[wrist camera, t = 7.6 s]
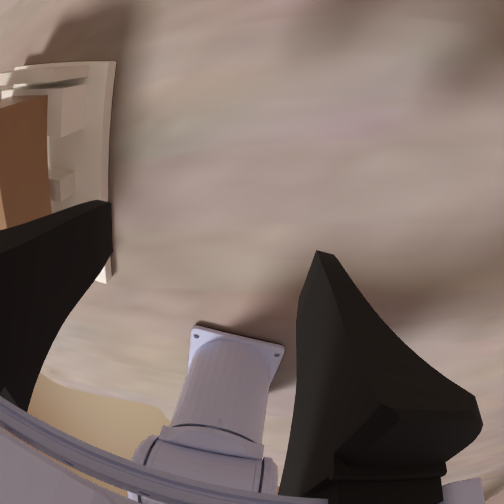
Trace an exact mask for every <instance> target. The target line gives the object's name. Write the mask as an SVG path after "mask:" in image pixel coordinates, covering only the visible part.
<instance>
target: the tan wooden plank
mask: <svg viewBox="0 0 504 504" xmlns="http://www.w3.org/2000/svg"><path fill="white" fill-rule="evenodd" d="M47 105H48V95H26V96H10V97H7V98H3V99H0V230H3V229H7V228H10V227H14V226H17V225H20V224H24V223H27V222H29V221H32V220H35V219H38V218H41V217H44V216H47V215H50V214H52V209H51V200H50V188H49V174H48V153H47Z"/></svg>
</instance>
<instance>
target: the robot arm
mask: <svg viewBox="0 0 504 504" xmlns="http://www.w3.org/2000/svg"><path fill="white" fill-rule="evenodd" d="M112 252H113V245H112V217H111V203H110V202H106V201H101V200H93V201H88V202H85V203H81V204H78V205H75V206H72V207H69V208H66V209H64V210H61V211H58V212H55V213H52V214H50V215H47V216H44V217H41V218H38V219H35V220H32V221H29V222H27V223H24V224H20V225H17V226H14V227H10V228H7V229H3V230H0V426H1V427H2V428H4V429H5V430H7V431H8V432H10V433H11V434H13V435H15V436H16V437H18V438H19V439H21V440H23V441H24V442H26V443H28V444H29V445H31V446H33V447H35V448H36V449H38V450H40V451H42V452H43V453H45V454H47V455H49V456H51V457H53V458H54V459H56V460H58V461H60V462H62V463H64V464H66V465H68V466H70V467H72V468H74V469H76V470H78V471H80V472H83V473H85V474H87V475H89V476H92V477H94V478H96V479H99V480H101V481H104V482H106V483H108V484H111V485H113V486H116V487H118V488H121V489H124V490H126V491H128V498H127V497H124V496H122V495H119V494H117V493H115V492H112V491H110V490H108V489H106V488H103V487H101V486H99V485H97V484H95V483H93V482H91V481H89V480H87V479H84V478H82V477H80V476H78V475H77V474H75V473H73V472H72V471H70V470H68V469H67V468H65V467H63V466H62V465H60V464H58V463H56V462H54V461H53V460H51V459H50V458H48V457H46V456H44V455H43V454H41V453H40V452H38V451H36V450H35V449H33V448H31V447H30V446H28V445H26V444H25V443H23V442H21V441H20V440H18V439H17V438H15V437H13V436H12V435H10V434H9V433H7V432H6V431H4V430H3V429H2V428H1V427H0V504H485V500H484V494H483V487H482V481H481V478H473V479H468V480H463V481H457V482H452V483H449V484H446V485H443V486H442V484H441V477H442V476H444V475H446V472H447V469H446V463H445V462H446V461H448V460H449V459H451V458H452V457H453V456H455V455H456V454H458V453H459V452H460V451H462V450H463V449H464V448H466V447H467V446H468V445H469V444H471V443H472V442H473V441H474V440H475V439H476V438H477V436H478V435H479V434H480V432H481V430H482V426H483V422H482V419H481V415H480V412H479V408H478V405H477V402H476V398H475V396H474V395H472V394H471V393H469V392H468V391H466V390H465V389H463V388H461V387H460V386H458V385H457V384H455V383H454V382H452V381H450V380H449V379H447V378H446V377H445V376H443V375H442V374H441V373H439V372H438V371H437V370H435V369H434V368H433V367H431V366H430V365H429V364H428V363H426V362H425V361H424V360H423V359H422V358H420V357H419V356H418V355H417V354H416V353H415V352H414V351H413V350H412V349H410V348H409V347H408V346H407V345H406V344H405V343H404V342H403V341H402V340H401V339H400V338H399V337H398V336H397V335H396V334H395V333H394V332H393V331H392V330H391V329H390V328H389V327H388V326H387V325H386V323H385V322H384V321H383V320H382V319H381V318H380V317H379V315H378V314H377V313H376V312H375V311H374V309H373V308H372V307H371V305H370V304H369V303H368V302H367V300H366V299H365V298H364V296H363V295H362V294H361V292H360V291H359V290H358V288H357V287H356V285H355V284H354V283H353V281H352V280H351V278H350V277H349V275H348V274H347V272H346V271H345V269H344V268H343V267H342V265H341V264H340V262H339V261H338V259H337V258H336V257H335V255H333V254H329V253H325V252H321V251H317V250H316V253H315V256H314V258H313V261H312V264H311V267H310V270H309V272H308V275H307V278H306V281H305V283H304V286H303V289H302V291H301V294H300V297H299V303H298V311H297V321H296V348H297V383H296V395H295V404H294V411H293V419H292V425H291V432H290V438H289V444H288V449H287V455H286V460H285V465H284V470H283V474H282V479H281V483H280V488H279V492H278V495H276V491H277V482H278V467H277V465H276V464H275V463H274V462H273V460H272V458H270V457H264V458H263V460H262V457H263V450H264V445H263V444H262V437H263V430H264V422H265V415H266V407H267V399H268V391H269V386H270V384H271V382H272V380H273V377H274V375H275V373H276V371H277V368H278V366H279V364H280V361H281V359H282V357H283V354H284V350H285V348H284V347H283V346H282V345H278V344H273V343H269V342H264V341H260V340H255V339H251V338H247V337H242V336H238V335H234V334H230V333H226V332H222V331H218V330H214V329H210V328H206V327H202V326H197V325H196V326H193V328H192V330H191V341H190V352H189V363H188V373H187V376H186V379H185V382H184V385H183V388H182V391H181V394H180V397H179V400H178V403H177V406H176V409H175V412H174V415H173V418H172V421H171V424H170V427H169V426H163V427H162V430H161V433H160V436H156V435H151V436H149V437H148V438H147V439H145V440H143V441H142V442H141V443H140V444H139V446H138V447H137V449H136V451H135V453H134V455H133V457H132V460H131V461H130V460H127V459H125V458H122V457H119V456H117V455H114V454H112V453H109V452H107V451H104V450H102V449H99V448H97V447H94V446H92V445H90V444H88V443H85V442H83V441H81V440H79V439H77V438H75V437H72V436H70V435H68V434H66V433H64V432H62V431H60V430H58V429H56V428H54V427H52V426H50V425H48V424H46V423H45V422H43V421H41V420H39V419H37V418H36V417H34V416H32V415H30V414H29V413H27V410H28V406H29V403H30V399H31V396H32V392H33V389H34V386H35V383H36V380H37V378H38V375H39V373H40V370H41V368H42V365H43V363H44V360H45V358H46V356H47V354H48V352H49V349H50V347H51V345H52V343H53V341H54V339H55V337H56V335H57V334H58V332H59V330H60V328H61V326H62V324H63V323H64V321H65V320H66V318H67V316H68V315H69V313H70V312H71V311H72V309H73V308H74V307H75V305H76V304H77V303H78V301H79V300H80V299H81V297H82V296H83V295H84V293H85V292H86V291H87V290H88V288H89V287H90V286H91V284H92V283H93V282H94V280H95V279H96V278H97V276H98V275H99V274H100V272H101V271H102V269H103V268H104V266H105V264H106V263H107V261H108V259H109V257H110V255H111V254H112ZM196 334H197V335H196ZM276 353H278V354H276Z"/></svg>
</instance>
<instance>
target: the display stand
mask: <svg viewBox="0 0 504 504" xmlns="http://www.w3.org/2000/svg"><path fill="white" fill-rule="evenodd" d="M116 62H117V61H84V62H62V63H48V64H36V65H27V66H20V67H15V68H14V71H9V72H4V73H0V86H2V85H13V88H12V89H8V90H4V91H2V99H3V98H7V97H10V96H26V95H48V105H47V153H48V174H49V188H50V200H51V209H52V213H55V212H58V211H61V210H64V209H66V208H69V207H72V206H75V205H78V204H81V203H85V202H88V201H93V200H101V201H106V202H108V162H109V137H110V121H111V108H112V97H113V87H114V78H115V70H116ZM111 277H112V273H111V259H110V257H109V259H108V261H107V263H106V264H105V266H104V268H103V269H102V271H101V272H100V274H99V275H98V276H97V278H96V279H95V280H96V281H99V282H102V283H105V284H107V283H108V281H109V280H110V279H111Z"/></svg>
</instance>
